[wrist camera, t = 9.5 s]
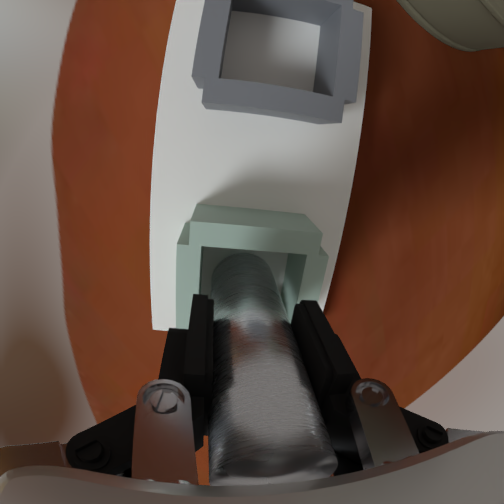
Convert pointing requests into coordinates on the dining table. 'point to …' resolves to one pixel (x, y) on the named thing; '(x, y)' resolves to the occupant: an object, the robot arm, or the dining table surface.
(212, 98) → the tool board
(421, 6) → the can
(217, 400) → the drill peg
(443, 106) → the dining table surface
